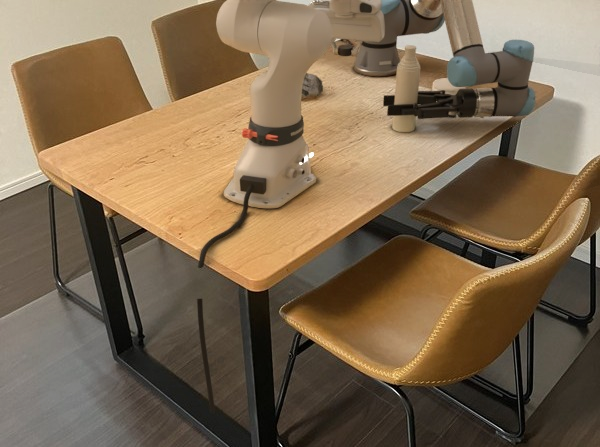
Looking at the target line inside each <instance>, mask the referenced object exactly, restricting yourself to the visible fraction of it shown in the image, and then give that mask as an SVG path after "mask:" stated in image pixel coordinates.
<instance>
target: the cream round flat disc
mask: <svg viewBox="0 0 600 447" xmlns="http://www.w3.org/2000/svg"><path fill="white" fill-rule="evenodd" d="M459 89H467V87H455V86H453V85H452V84H451V83H450V82H449V80H448V77H441V78H437V79H435V80H434V81H433V82H432V87H431V91H440V90H445V94H451V95H456V94H457V92H458V90H459Z"/></svg>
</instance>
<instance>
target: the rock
mask: <svg viewBox="0 0 600 447" xmlns="http://www.w3.org/2000/svg"><path fill="white" fill-rule="evenodd" d="M323 92H324V85H323V80H322V79H321V78H319V77H318V76H317V75H316V74H313V73H309V72H307V73H306V75H305V78H304V81H303V85H302V98H301V99H308V98H313V97H316V98H318V97H319V96H320V95H321V94H322V93H323Z"/></svg>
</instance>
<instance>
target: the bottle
mask: <svg viewBox="0 0 600 447" xmlns="http://www.w3.org/2000/svg"><path fill="white" fill-rule="evenodd" d="M416 52H417V46H416V45H410V44H407V45H405V46H404V54H403V56H402V58H401V59H400V63H399V64H398V66H397V74H395V75H396V76H395V88H394V95H395V99H394V105H401V104H413V105H415V103H417V100H418V91H420V90H419V89H420V78H421V70H422V68H421V64H420V62H419V60H418V58H417V56H416ZM413 108H414V107H413ZM416 119H417V116H414V115H401V116H392V126H391V128H392V130H394V131H396V132H399V133H410V132H413V131H414V130H415V129H416V128H415V127H416Z"/></svg>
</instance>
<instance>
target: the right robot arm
mask: <svg viewBox="0 0 600 447" xmlns="http://www.w3.org/2000/svg"><path fill="white" fill-rule="evenodd" d="M381 1H382V5H381V8H380V10H381V11H382V13H383V15H384V22H385V35H384V38H383V39H382V40H381V41H380V42H373V41H363V42H362V44H361V45H360V47H359V49H358V56H357V57H355V60H354V65H353V66H354V67H353V69H354V71H355V72H356V73H358V74H360V75H363V76H368V77H378V78H380V77H381V78H382V77H389V76H393V75H396V74H397V66H398V64H399V63H400V61H401V59H400V56H399V51H398V47H397V43H398V41H397V40H398V37H404V36H411V35H420V34H421V35H423V34H425V35H426V34H430V33H435V32H437V31H438V30H440V29H441V28H442V27H443V25H444V23H445V27H446V32H447V36H448V40H449V45H450V48H451V52H452V56H453V57H452V58H450V59H449V61H448V62H447V65H446V70H447V71H446V78H448V80H449V82H450V83H451V84H452V85H453V86H455V87H466V89H459V90H458V92H457V94H456V95H451V94H445V90H440V91H432V90H418V100H417V103H415V105H413V104H401V105H394V99H395V94H391V95H388V94H387V95H383V101H382V102H383V103H382V104H383V105H382V106H383V107H387V113H386V116H388V117H393V116H401V115H414V116H416V119H418V120H426V119H427V120H428V119H446V118H448V119H456V118H457V117H458V118H460V119H468V118H473V117H474V118H480V119H484V118H490V117H491V118H493V117H512V118H513V117H514V118H515V117H524V116H528V115H530V114H531V113H532V112H533V111H534V109H535V107H536V97H537V96H536V92H535V90H534V88H533V87H531V86H529V81H530V76H531V71H532V67H533V62H534V58H535V45H534V43H532V42H531V41H528V40H524V39H509V40H507V41H504V43H503V46H502V50H500V51H492V52H485V48H484V43H483V39H482V35H481V31H480V28H479V27H480V26H479V24H478V19H477V16H476V11H475V7H474V2H473V0H381ZM339 40H340V42H343V41H346V42H347V43H348V44H349V45H352V46H353V42H351V40H347V39H339ZM494 83H495V84H496V83H497V87H475V86H481V85H486V84H488V85H489V84H494ZM467 87H468V88H467ZM470 87H471V88H470ZM472 87H475V88H472ZM413 107H414V108H413Z"/></svg>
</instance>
